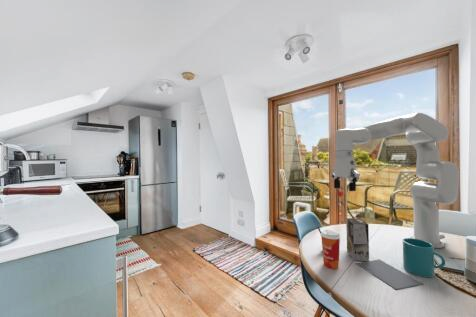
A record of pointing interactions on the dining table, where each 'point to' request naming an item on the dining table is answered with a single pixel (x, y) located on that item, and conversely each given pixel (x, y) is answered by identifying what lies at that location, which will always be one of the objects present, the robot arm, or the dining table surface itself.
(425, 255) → the cup
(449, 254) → the dining table surface
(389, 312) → the dining table surface
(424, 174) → the robot arm
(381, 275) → the mat
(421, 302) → the dining table surface
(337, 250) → the paper cup
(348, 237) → the coffee box
